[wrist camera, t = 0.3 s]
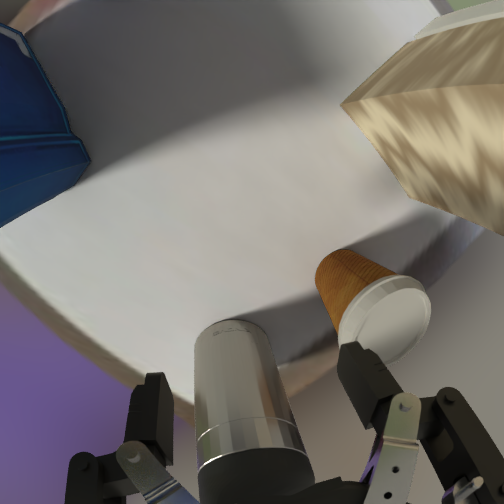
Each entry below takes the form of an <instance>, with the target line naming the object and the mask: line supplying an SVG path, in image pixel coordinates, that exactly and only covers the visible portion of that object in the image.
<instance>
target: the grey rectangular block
mask: <svg viewBox="0 0 504 504" xmlns="http://www.w3.org/2000/svg"><path fill="white" fill-rule="evenodd" d="M502 17H504V0H495V1H491V2H487V3H483V4H479V5H475V6H472V7H468V8H465V9H461V10H458V11H455V12H452V13H449V14H446V15H443V16H440V17H437V18H435V19H434V20H433V21H431V22H430V23H429V24H428V25H427V26H425V27H424V28H423V29H422V30H421V31H420V32H418V33H417V34H416V35H415V36H414V37H415V38H416V39H420V38H423V37H426V36H429V35H432V34H436V33H439V32H442V31H446V30H449V29H453V28H457V27H460V26H464V25H468V24H473V23H477V22H481V21H486V20H491V19H496V18H502Z"/></svg>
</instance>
